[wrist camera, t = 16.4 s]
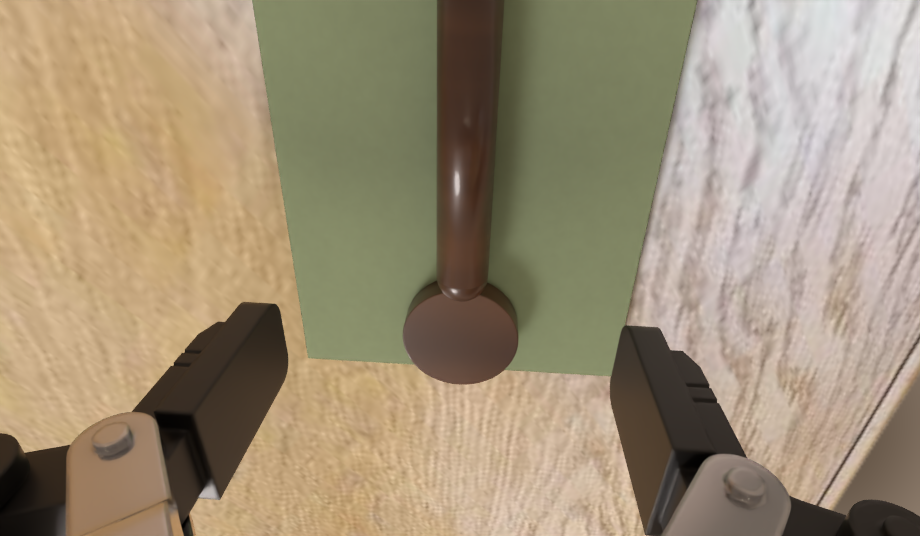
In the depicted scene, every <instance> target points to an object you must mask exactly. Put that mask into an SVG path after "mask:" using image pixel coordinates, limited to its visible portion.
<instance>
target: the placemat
mask: <svg viewBox="0 0 920 536" xmlns="http://www.w3.org/2000/svg"><path fill="white" fill-rule="evenodd" d="M252 2H253V8H254V14H255V21H256V27H257V34H258V40H259V46H260V53H261V59H262V66H263V72H264V78H265V85H266V91H267V97H268V104H269V110H270V117H271V123H272V129H273V136H274V142H275V149H276V155H277V161H278V168H279V174H280V181H281V187H282V193H283V200H284V206H285V212H286V219H287V225H288V232H289V238H290V244H291V251H292V257H293V264H294V270H295V276H296V283H297V289H298V296H299V302H300V308H301V315H302V321H303V327H304V334H305V340H306V347H307V353H308V358H314V359H331V360H347V361H364V362H381V363H397V364H414V363H413V362H412V361H411V359H410V358H409V356H408V354H407V352H406V350H405V347H404V343H403V327H404V323H405V319H406V316H407V312H408V309H409V306H410V304H411V302H412V300H413V299H414V297H415V296H416V295H417V294H418V293H419V292H420V291H421V290H422V289H423V288H425V287H426V286H427V285H429V284H431V283H433V282H435V281H437V276H436V244H437V0H252ZM696 4H697V0H504V17H503V34H502V51H501V68H500V85H499V101H498V118H497V135H496V152H495V169H494V186H493V203H492V220H491V237H490V254H489V271H488V281H487V283H489V284H491V285H493V286H495V287H496V288H498V289H499V290H500V291H501V292H503V293H504V294H505V295H506V297H507V298H508V299H509V300H510V302H511V303H512V305H513V307H514V309H515V312H516V315H517V321H518V348H517V352H516V354H515V356H514V358H513V360H512V362H511V363H510V364H509V366H508V367H507V368H506V369H505V370H514V371H530V372H547V373H564V374H580V375H597V376H611V375H612V370H613V366H614V361H615V356H616V352H617V347H618V343H619V338H620V334H621V330H622V328H623V327H624V326H625V323H626V318H627V314H628V309H629V305H630V300H631V296H632V291H633V287H634V282H635V278H636V273H637V269H638V264H639V260H640V255H641V251H642V246H643V242H644V237H645V233H646V229H647V224H648V220H649V215H650V211H651V206H652V202H653V197H654V193H655V188H656V184H657V179H658V175H659V170H660V166H661V161H662V157H663V152H664V148H665V143H666V139H667V134H668V130H669V125H670V121H671V116H672V112H673V107H674V103H675V98H676V94H677V89H678V85H679V80H680V76H681V72H682V67H683V63H684V58H685V54H686V49H687V45H688V40H689V36H690V31H691V27H692V22H693V18H694V13H695V9H696ZM414 365H415V364H414Z"/></svg>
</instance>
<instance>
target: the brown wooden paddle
mask: <svg viewBox="0 0 920 536" xmlns="http://www.w3.org/2000/svg"><path fill="white" fill-rule="evenodd" d="M503 17H504V0H437V244H436V276H437V281H435V282H433V283H431V284H429V285H427V286H426V287H425V288H423V289H422V290H421V291H420V292H419V293H418V294H417V295H416V296H415V297H414V299H413V300H412V302H411V304H410V306H409V309H408V312H407V316H406V319H405V323H404V327H403V343H404V347H405V350H406V352H407V354H408V356H409V358H410V359H411V361H412V362H413V363H414V364H415V365H416V366H417V367H418V368H419V369H420V370H421V371H423V372H424V373H425V374H427V375H429V376H431V377H433V378H435V379H437V380H440V381H443V382H447V383H452V384H475V383H480V382H483V381H486V380H489V379H491V378H493V377H495V376H497V375H498V374H500V373H501V372H502V371H504V370H505V369H506V368H507V367H508V366H509V364H510V363H511V362H512V360H513V358H514V356H515V354H516V352H517V348H518V321H517V315H516V312H515V309H514V307H513V305H512V303H511V302H510V300H509V299H508V298H507V297H506V295H505V294H504V293H503V292H501V291H500V290H499V289H498V288H496V287H495V286H493V285H491V284H489V283H487V281H488V271H489V254H490V237H491V220H492V203H493V186H494V169H495V152H496V135H497V118H498V101H499V85H500V68H501V51H502V34H503Z"/></svg>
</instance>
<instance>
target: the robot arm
mask: <svg viewBox="0 0 920 536" xmlns="http://www.w3.org/2000/svg"><path fill="white" fill-rule="evenodd" d="M287 369H288V353H287V347H286V341H285V336H284V330H283V325H282V319H281V314H280V310H279V307H278V306H277V305H276V304H269V303H252V302H243V303H241V304H240V305H239V306H238V307H237V308H236V309H235V311H234V312H233V313H232V314H231V316H230V317H229V318H228V319H227V321H226V322H217V323H215V324H214V325H212V326H211V327H209V328H208V329H206V330H204V331H203V332H201V333H200V334H198V335H197V336H196V338H195V339H194V340H193V341H192V342H191V343H190V344H189V346H188V347H187V348H186V349H185V353H182V354H181V355H180V356H179V357H178V358H177V360H176V361H175V362H174V366H171V367H170V368H169V369H168V370H167V371H166V372H165V374H164V375H163V376H162V377H161V378H160V379H159V381H158V382H157V383H156V384H155V385H154V386H153V388H152V389H151V390H150V391H149V392H148V393H147V395H146V396H145V397H144V398H143V399H142V400H141V402H140V403H139V404H138V405H137V406H136V407H135V409H134V410H133V411H132V412H127V413H121V414H117V415H114V416H110V417H108V418H105V419H103V420H101V421H99V422H97V423H95V424H93V425H92V426H90V427H89V428H87V429H86V430H84V431H83V432H82V433H81V434H80V435H79V436H78V437H77V438H76V439H75V440H74V441H73V442H72V444H71V445H67V446H61V447H56V448H50V449H44V450H39V451H33V452H27V453H24V452H23V450H22V448H21V446H20V445H19V443H18V441H17V440H16V439H15V438H14V437H13V436H11V435H8V434H2V433H0V536H196V533H195V529H194V524H193V520H192V517H191V514H190V511H191V509H192V508H193V506H194V504H195V503H196V501H197V499H198V498H203V499H216V500H220V499H221V497H222V495H223V493H224V491H225V489H226V488H227V486H228V484H229V482H230V480H231V478H232V477H233V475H234V473H235V471H236V469H237V467H238V466H239V464H240V462H241V460H242V458H243V456H244V454H245V453H246V451H247V449H248V447H249V445H250V443H251V442H252V440H253V438H254V436H255V434H256V432H257V431H258V429H259V427H260V425H261V423H262V421H263V419H264V418H265V416H266V414H267V412H268V410H269V408H270V407H271V405H272V403H273V401H274V399H275V397H276V396H277V394H278V392H279V390H280V388H281V386H282V384H283V383H284V380H285V378H286V374H287ZM610 399H611V405H612V409H613V413H614V417H615V421H616V425H617V428H618V432H619V436H620V440H621V444H622V448H623V451H624V455H625V459H626V463H627V467H628V471H629V474H630V478H631V482H632V486H633V490H634V494H635V498H636V501H637V505H638V509H639V513H640V517H641V521H642V524H643V528H644V532H645V535H649V536H920V517H919V516H918V515H916V514H914V513H913V512H911V511H909V510H907V509H905V508H903V507H900V506H898V505H895V504H892V503H889V502H885V501H880V500H863V501H860V502H858V503H856V504H854V505H853V507H852V508H851V510H850V511H849V513H848V514H847V516H846V515H843V514H840V513H837V512H834V511H831V510H828V509H825V508H822V507H819V506H816V505H813V504H810V503H807V502H804V501H801V500H798V499H796V498H793V497H791V496H789V494H788V492H787V490H786V489H785V487H784V486H783V484H782V483H781V482H780V481H779V480H778V478H777V477H776V476H775V475H773V474H772V473H771V472H770V471H769V470H767V469H766V468H764V467H763V466H761V465H760V464H758V463H756V462H754V461H752V460H750V459H748V458H747V457H746V455H745V453H744V451H743V449H742V447H741V445H740V443H739V441H738V439H737V437H736V436H735V434H734V432H733V430H732V428H731V426H730V424H729V422H728V420H727V418H726V416H725V414H724V412H723V410H722V408H721V406H720V405H719V403H717V399H716V397H715V395H714V393H713V391H712V389H711V388H709V383H708V381H707V379H706V377H705V376H704V374H703V372H702V370H701V368H700V367H699V366H698V365H697V364H696V363H695V362H694V361H693V360H692V359H691V358H690V357H689V356H687V355H686V354H685V353H684V352H683V351H672V350H670V349H669V347H668V345H667V342H666V340H665V338H664V336H663V334H662V332H661V330H660V329H659V328H658V327H642V326H624V327H623V328H622V330H621V334H620V338H619V343H618V347H617V352H616V356H615V361H614V366H613V370H612V375H611V381H610Z"/></svg>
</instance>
